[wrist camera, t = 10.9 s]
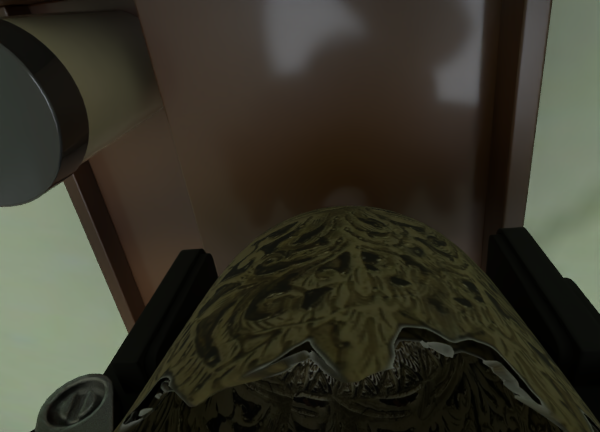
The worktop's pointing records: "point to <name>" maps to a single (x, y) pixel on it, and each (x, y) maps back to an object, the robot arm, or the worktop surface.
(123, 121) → the spice jar
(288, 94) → the spice rack
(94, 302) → the worktop surface
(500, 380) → the brown hollow bell-shaped piece
